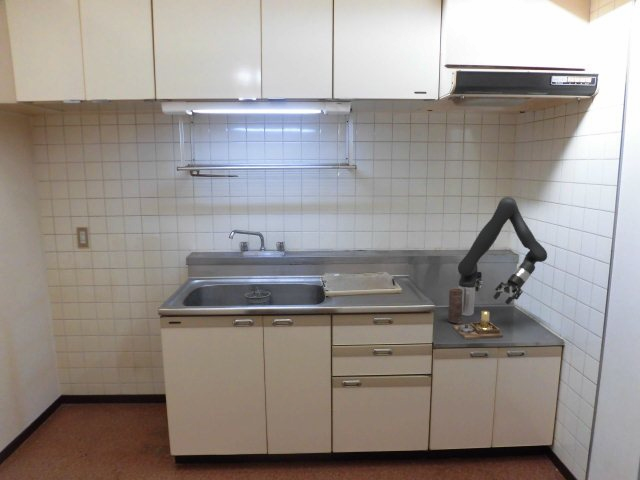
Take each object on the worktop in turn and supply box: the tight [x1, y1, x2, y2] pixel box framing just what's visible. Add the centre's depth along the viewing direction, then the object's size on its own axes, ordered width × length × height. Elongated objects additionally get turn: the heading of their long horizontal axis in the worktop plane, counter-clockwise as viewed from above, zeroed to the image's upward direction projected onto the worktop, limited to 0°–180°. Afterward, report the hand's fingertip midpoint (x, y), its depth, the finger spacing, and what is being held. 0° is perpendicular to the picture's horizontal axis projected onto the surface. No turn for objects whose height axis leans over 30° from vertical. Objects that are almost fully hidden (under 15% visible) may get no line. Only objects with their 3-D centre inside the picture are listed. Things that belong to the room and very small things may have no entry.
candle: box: [447, 287, 463, 325], centre depth 232 cm, size 8×7×20 cm
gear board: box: [452, 321, 504, 340], centre depth 219 cm, size 16×20×5 cm
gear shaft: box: [476, 310, 493, 330], centre depth 219 cm, size 8×8×10 cm
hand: (500, 300), depth 220 cm, fingers open, 8 cm apart
